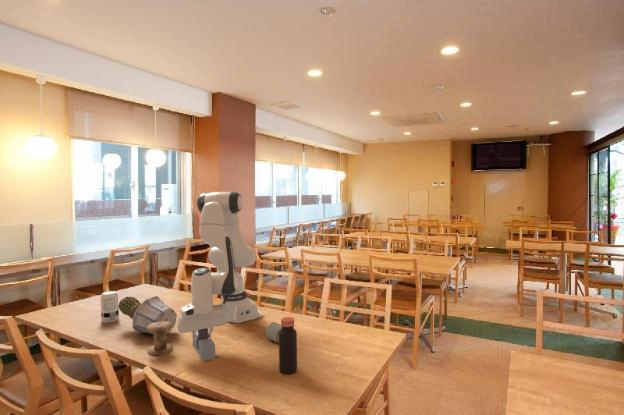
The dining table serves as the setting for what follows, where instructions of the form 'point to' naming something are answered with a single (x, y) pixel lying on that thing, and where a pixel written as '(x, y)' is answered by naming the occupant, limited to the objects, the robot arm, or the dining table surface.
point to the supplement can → (109, 307)
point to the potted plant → (147, 312)
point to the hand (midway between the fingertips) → (203, 338)
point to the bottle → (287, 346)
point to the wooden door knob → (160, 338)
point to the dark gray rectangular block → (203, 334)
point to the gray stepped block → (204, 348)
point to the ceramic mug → (273, 331)
